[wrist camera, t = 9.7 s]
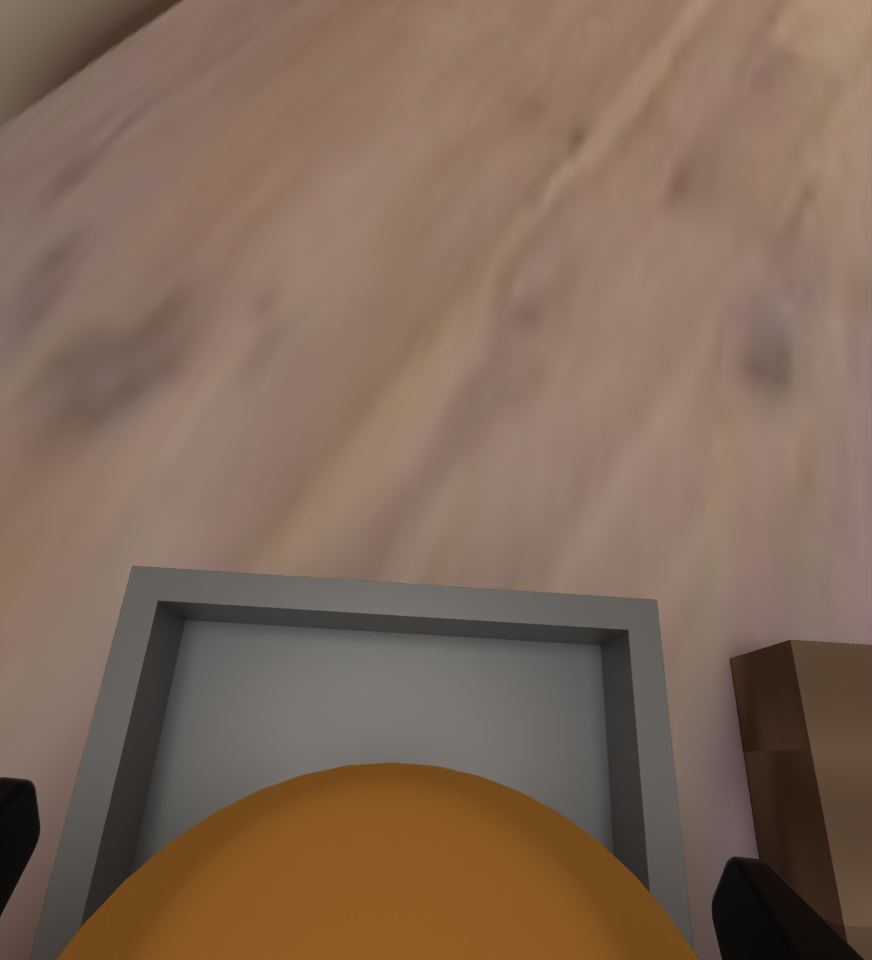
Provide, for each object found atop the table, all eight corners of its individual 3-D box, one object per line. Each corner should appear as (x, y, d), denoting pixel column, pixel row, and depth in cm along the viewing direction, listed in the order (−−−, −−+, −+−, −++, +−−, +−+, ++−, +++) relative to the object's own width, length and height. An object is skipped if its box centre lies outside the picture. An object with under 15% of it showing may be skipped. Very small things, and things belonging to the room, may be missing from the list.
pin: (488, 908, 15) (988, 1574, 3) (324, 992, 14) (-59, 2600, 2) (425, 737, 16) (562, 660, 4) (272, 803, 15) (-135, 958, 3)
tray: (669, 1322, 13) (747, 1476, 10) (7, 1311, 12) (-105, 1472, 9) (617, 624, 18) (656, 599, 16) (171, 596, 18) (132, 565, 15)
